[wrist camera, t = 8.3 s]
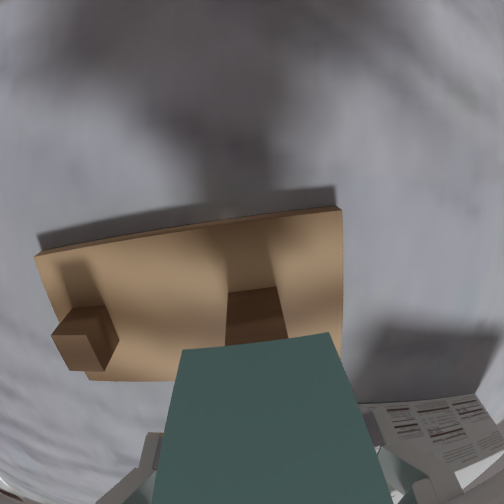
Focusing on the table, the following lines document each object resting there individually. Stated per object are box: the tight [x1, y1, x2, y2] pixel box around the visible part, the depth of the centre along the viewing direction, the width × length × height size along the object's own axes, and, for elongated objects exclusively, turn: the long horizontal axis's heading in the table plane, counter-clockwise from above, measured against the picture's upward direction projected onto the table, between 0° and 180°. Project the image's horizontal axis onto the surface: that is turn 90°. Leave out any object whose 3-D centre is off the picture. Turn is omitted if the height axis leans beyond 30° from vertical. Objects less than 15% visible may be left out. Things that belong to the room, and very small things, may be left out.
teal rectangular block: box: [151, 332, 394, 504], centre depth 8 cm, size 5×5×7 cm
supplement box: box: [358, 394, 504, 504], centre depth 21 cm, size 17×13×9 cm
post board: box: [34, 206, 343, 381], centre depth 14 cm, size 10×18×7 cm, turn 97°
